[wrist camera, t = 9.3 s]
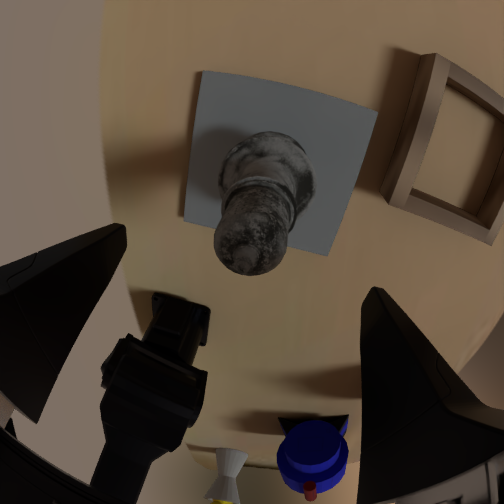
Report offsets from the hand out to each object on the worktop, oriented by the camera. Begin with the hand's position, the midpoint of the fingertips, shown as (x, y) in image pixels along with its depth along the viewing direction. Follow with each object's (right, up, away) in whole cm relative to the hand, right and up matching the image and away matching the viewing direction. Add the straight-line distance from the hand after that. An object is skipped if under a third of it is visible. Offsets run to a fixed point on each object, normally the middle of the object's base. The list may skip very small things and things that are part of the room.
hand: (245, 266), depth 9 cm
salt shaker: (+2, +6, +10) cm, 12 cm away
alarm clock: (+11, -30, +34) cm, 47 cm away
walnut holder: (+17, +8, +7) cm, 20 cm away
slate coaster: (+2, +7, +10) cm, 13 cm away
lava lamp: (-5, -52, +51) cm, 73 cm away
